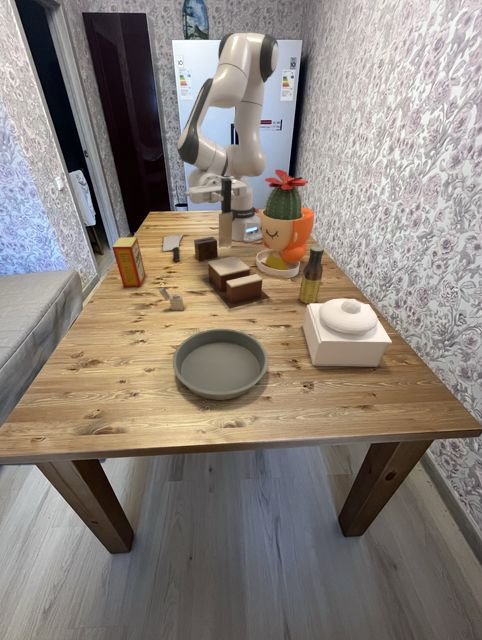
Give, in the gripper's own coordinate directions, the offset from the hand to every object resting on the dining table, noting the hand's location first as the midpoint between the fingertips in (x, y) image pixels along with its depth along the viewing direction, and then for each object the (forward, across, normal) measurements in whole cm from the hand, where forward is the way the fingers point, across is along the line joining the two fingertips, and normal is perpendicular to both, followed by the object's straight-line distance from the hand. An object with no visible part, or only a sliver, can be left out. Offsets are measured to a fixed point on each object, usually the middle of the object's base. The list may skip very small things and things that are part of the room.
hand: (227, 198), depth 92 cm
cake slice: (+14, 0, +29) cm, 32 cm away
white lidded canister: (+49, +12, +30) cm, 59 cm away
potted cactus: (-3, +26, +31) cm, 41 cm away
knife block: (-25, 0, +30) cm, 39 cm away
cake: (+1, 0, +30) cm, 30 cm away
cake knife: (-3, 0, +17) cm, 17 cm away
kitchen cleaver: (-42, -10, +30) cm, 53 cm away
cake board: (+6, -1, +30) cm, 31 cm away
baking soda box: (-17, -34, +30) cm, 48 cm away
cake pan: (+43, -23, +30) cm, 57 cm away
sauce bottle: (+26, +18, +30) cm, 44 cm away
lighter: (+9, -26, +30) cm, 40 cm away
